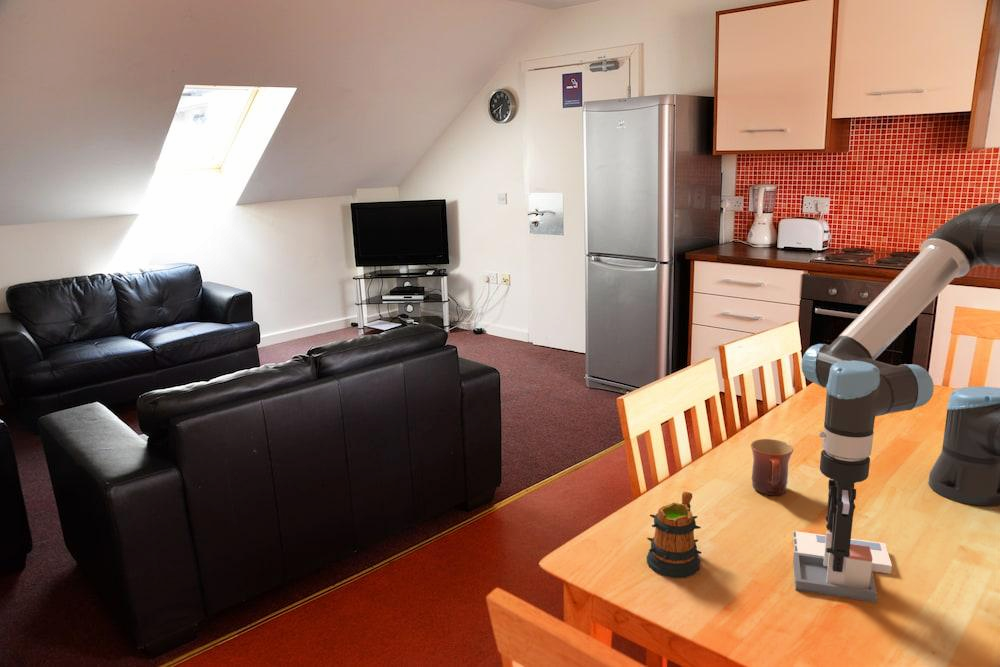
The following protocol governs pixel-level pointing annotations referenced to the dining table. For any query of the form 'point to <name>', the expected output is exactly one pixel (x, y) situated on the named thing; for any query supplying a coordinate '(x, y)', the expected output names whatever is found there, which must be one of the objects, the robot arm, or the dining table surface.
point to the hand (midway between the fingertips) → (833, 574)
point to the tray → (814, 577)
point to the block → (858, 567)
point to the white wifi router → (879, 552)
